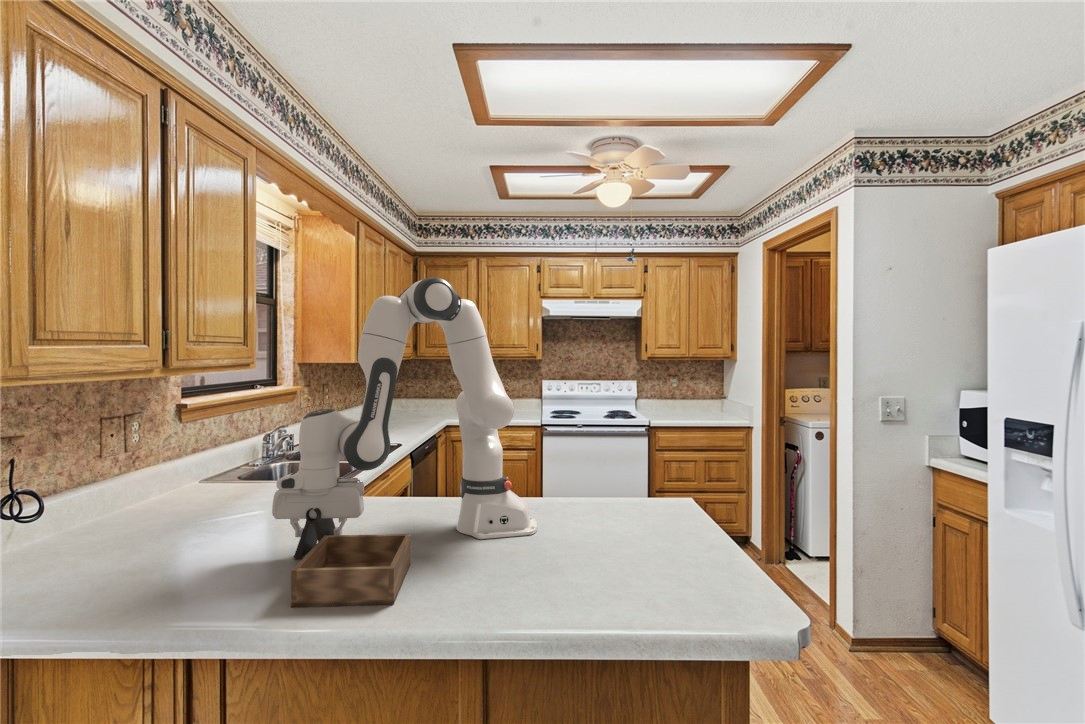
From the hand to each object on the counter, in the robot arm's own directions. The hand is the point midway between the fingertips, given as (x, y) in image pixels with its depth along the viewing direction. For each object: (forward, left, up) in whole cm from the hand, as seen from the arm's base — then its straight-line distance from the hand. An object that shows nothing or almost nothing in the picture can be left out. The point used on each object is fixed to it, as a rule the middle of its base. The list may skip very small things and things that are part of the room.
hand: (318, 536), depth 123 cm
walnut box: (-13, +16, -5) cm, 21 cm away
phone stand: (0, 0, -5) cm, 5 cm away
